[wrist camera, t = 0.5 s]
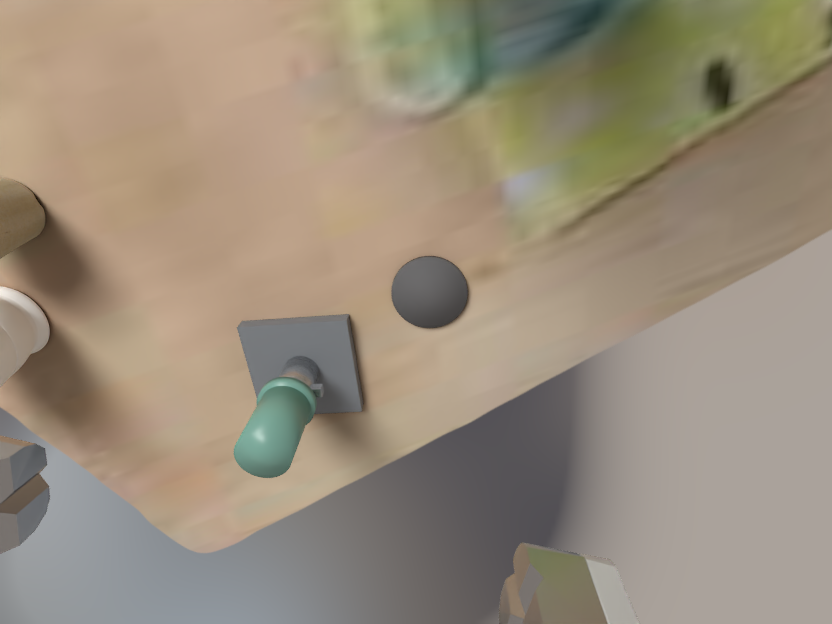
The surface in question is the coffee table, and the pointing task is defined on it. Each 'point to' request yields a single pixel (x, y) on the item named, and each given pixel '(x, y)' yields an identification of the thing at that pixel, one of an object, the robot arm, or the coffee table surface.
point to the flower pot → (18, 216)
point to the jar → (19, 331)
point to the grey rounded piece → (304, 373)
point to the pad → (429, 292)
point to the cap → (275, 427)
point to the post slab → (309, 338)
